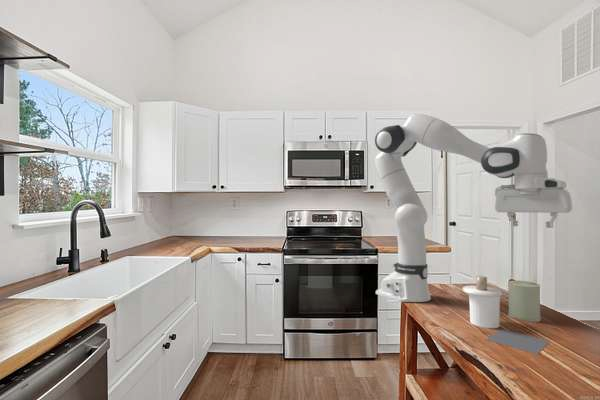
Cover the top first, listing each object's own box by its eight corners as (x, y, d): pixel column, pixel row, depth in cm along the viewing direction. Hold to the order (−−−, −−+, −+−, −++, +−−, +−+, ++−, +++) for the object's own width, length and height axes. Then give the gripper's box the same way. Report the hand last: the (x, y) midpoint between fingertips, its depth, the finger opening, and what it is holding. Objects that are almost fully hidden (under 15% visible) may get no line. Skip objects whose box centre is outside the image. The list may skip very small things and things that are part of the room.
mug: (507, 329, 101) (507, 296, 101) (483, 332, 99) (482, 298, 99) (481, 318, 112) (480, 287, 112) (458, 320, 110) (457, 289, 110)
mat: (486, 342, 92) (486, 339, 92) (500, 331, 100) (500, 328, 100) (537, 357, 83) (537, 354, 83) (549, 343, 91) (549, 340, 91)
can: (546, 323, 107) (546, 285, 107) (515, 321, 109) (514, 284, 109) (532, 313, 116) (532, 279, 116) (503, 312, 118) (503, 278, 118)
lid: (457, 292, 106) (456, 276, 106) (470, 286, 113) (470, 272, 113) (495, 299, 98) (494, 282, 98) (506, 292, 105) (506, 277, 105)
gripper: (491, 185, 112) (492, 226, 111) (568, 181, 96) (569, 228, 96) (498, 185, 116) (498, 225, 116) (572, 182, 101) (573, 227, 100)
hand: (531, 226), depth 106 cm, fingers open, 8 cm apart
